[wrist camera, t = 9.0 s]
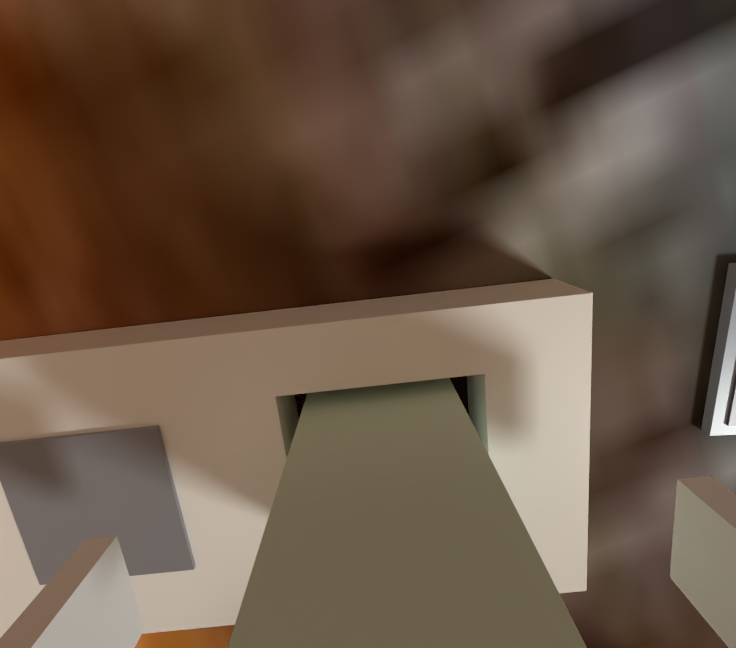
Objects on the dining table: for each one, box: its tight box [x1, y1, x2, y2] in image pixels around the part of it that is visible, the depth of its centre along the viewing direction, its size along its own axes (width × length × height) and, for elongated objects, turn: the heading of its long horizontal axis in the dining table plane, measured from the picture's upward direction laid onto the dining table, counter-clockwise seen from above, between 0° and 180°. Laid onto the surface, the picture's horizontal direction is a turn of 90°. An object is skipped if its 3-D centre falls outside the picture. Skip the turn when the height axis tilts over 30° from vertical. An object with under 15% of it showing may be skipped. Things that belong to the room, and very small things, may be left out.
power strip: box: [0, 279, 593, 638], centre depth 14 cm, size 10×22×3 cm, turn 96°
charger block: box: [228, 378, 587, 648], centre depth 10 cm, size 4×4×10 cm
